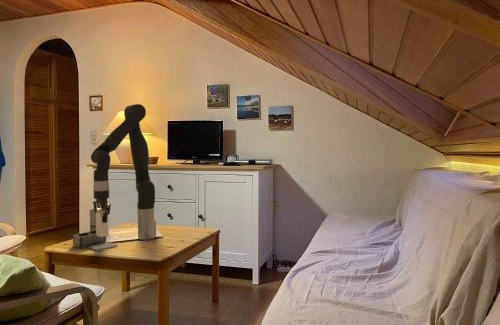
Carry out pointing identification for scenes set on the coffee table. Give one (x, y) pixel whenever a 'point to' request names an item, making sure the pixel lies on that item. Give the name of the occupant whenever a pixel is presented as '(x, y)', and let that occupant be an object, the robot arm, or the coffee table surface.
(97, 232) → the square peg
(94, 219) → the coffee box
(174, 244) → the coffee table surface
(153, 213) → the robot arm
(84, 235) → the grey rectangular bin
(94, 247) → the rubber mat
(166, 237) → the coffee table surface
